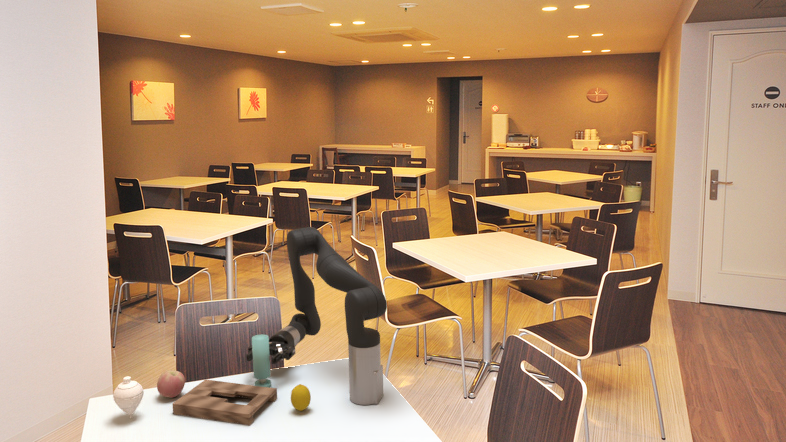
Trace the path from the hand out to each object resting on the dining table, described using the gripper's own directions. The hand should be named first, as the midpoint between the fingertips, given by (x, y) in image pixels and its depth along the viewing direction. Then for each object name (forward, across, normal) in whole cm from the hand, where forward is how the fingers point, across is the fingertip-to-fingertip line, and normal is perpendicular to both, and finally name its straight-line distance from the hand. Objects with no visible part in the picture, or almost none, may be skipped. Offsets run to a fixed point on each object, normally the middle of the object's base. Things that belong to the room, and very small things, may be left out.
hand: (260, 359), depth 181 cm
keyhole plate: (+13, -4, +9) cm, 17 cm away
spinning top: (+26, -26, +9) cm, 38 cm away
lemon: (+10, +18, +9) cm, 23 cm away
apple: (+12, -23, +9) cm, 28 cm away
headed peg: (-1, 0, +9) cm, 9 cm away
